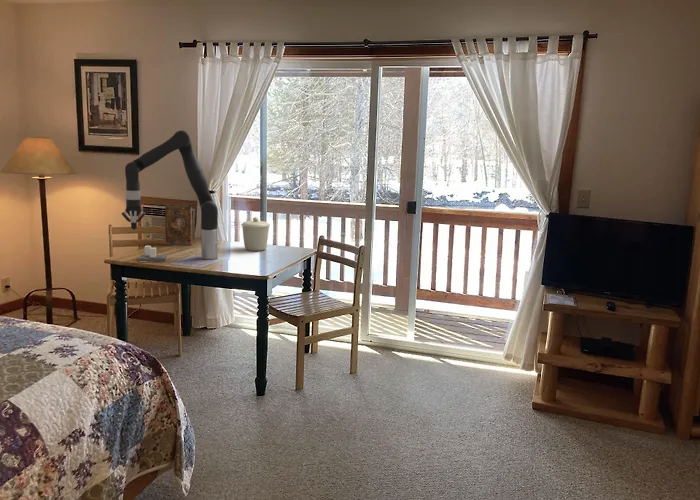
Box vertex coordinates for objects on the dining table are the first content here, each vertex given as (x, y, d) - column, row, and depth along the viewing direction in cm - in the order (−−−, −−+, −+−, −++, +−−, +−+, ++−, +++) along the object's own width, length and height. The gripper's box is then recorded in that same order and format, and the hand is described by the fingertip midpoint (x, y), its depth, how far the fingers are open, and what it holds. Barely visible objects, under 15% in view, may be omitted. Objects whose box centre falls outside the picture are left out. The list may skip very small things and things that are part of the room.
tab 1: (151, 254, 321) (150, 245, 320) (150, 255, 317) (150, 246, 316) (145, 254, 320) (145, 245, 319) (144, 255, 317) (144, 246, 316)
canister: (235, 248, 359) (235, 216, 354) (259, 246, 370) (260, 214, 366) (250, 253, 345) (251, 219, 341) (275, 250, 357) (275, 218, 353)
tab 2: (156, 256, 316) (156, 247, 315) (155, 257, 313) (155, 248, 312) (150, 256, 316) (150, 247, 315) (150, 257, 312) (149, 248, 311)
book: (192, 243, 367) (191, 206, 362) (192, 245, 362) (191, 207, 357) (166, 244, 363) (165, 205, 358) (165, 245, 358) (164, 207, 353)
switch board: (166, 257, 324) (166, 254, 323) (165, 261, 314) (164, 258, 313) (141, 258, 321) (141, 254, 320) (138, 262, 311) (138, 258, 310)
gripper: (146, 198, 316) (147, 228, 319) (121, 197, 313) (122, 227, 316) (144, 199, 309) (145, 230, 312) (119, 198, 306) (120, 230, 309)
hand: (134, 229), depth 314 cm, fingers closed
